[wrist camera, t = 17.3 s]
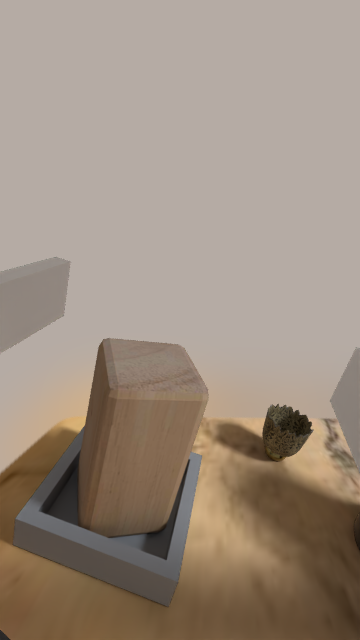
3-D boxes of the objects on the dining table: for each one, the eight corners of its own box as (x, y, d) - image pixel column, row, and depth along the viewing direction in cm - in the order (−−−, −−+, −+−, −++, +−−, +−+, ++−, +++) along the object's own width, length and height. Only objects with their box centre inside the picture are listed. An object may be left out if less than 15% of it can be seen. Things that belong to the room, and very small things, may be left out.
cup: (254, 433, 61) (268, 397, 58) (294, 448, 60) (310, 412, 57) (251, 461, 54) (268, 422, 51) (296, 479, 53) (316, 440, 50)
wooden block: (76, 469, 44) (99, 333, 36) (150, 465, 47) (184, 341, 40) (76, 546, 35) (107, 388, 28) (166, 535, 38) (215, 392, 31)
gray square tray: (195, 476, 48) (202, 455, 47) (168, 607, 33) (178, 582, 31) (87, 438, 50) (91, 417, 49) (12, 544, 34) (15, 518, 33)
